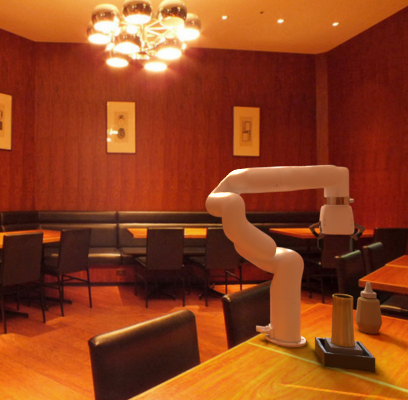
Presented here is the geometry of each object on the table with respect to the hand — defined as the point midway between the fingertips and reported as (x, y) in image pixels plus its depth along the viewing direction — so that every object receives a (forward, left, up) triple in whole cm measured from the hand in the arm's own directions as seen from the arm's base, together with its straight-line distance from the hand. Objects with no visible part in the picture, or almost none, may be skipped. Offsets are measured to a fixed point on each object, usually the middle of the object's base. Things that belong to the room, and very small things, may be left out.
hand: (336, 250), depth 133 cm
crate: (-4, -23, -30) cm, 38 cm away
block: (-4, -23, -30) cm, 38 cm away
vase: (-4, -23, -25) cm, 34 cm away
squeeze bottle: (+12, +8, -31) cm, 34 cm away
